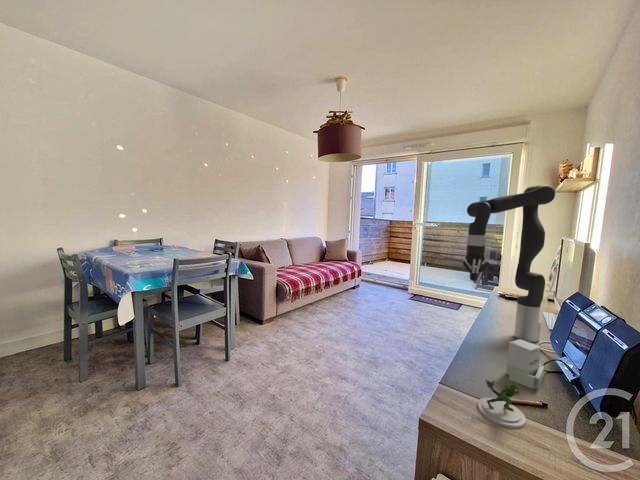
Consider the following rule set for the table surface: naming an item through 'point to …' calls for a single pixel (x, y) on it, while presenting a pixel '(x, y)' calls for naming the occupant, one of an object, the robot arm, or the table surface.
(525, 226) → the robot arm
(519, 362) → the supplement box
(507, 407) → the monster figurine
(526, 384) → the holder
